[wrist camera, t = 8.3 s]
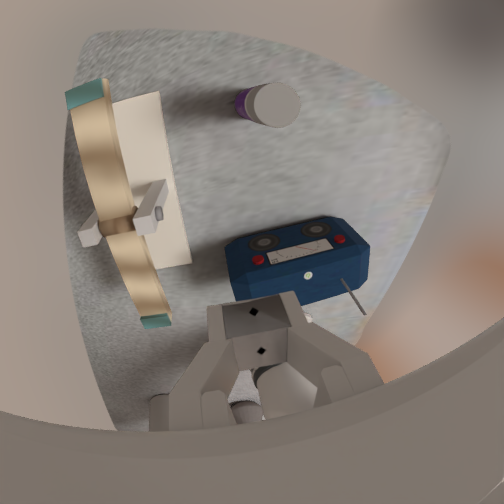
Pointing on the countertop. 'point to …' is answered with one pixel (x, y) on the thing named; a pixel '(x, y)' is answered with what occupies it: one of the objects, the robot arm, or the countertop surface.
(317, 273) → the radio
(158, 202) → the stand
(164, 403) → the cylinder vase
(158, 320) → the beam
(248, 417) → the coffee pot
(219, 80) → the countertop surface
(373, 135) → the countertop surface
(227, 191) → the countertop surface
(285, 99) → the container
